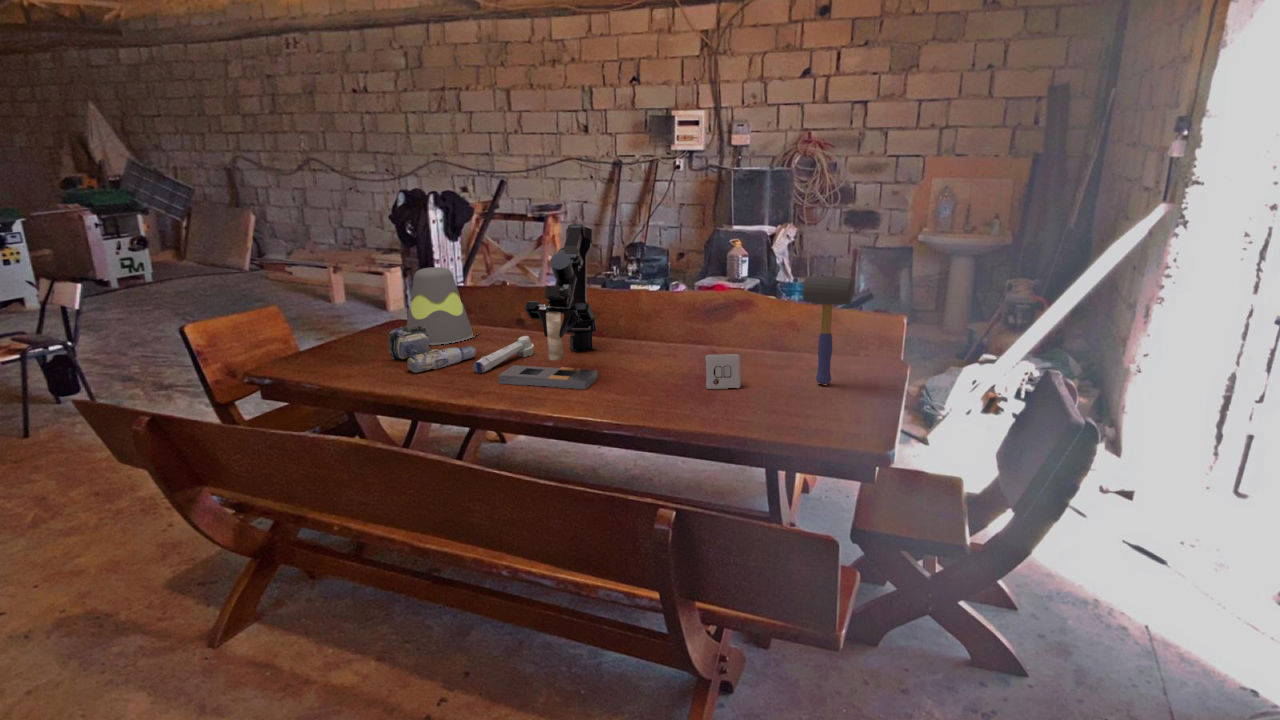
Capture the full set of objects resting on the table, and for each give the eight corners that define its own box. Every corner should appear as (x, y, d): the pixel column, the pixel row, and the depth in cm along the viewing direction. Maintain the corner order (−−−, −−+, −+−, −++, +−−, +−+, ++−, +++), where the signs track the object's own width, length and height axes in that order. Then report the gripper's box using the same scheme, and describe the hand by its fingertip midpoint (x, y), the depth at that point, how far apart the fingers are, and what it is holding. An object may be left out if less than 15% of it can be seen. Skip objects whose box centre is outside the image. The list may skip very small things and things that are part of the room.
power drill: (378, 363, 235) (374, 330, 232) (439, 348, 251) (436, 317, 248) (417, 376, 221) (413, 341, 218) (480, 360, 237) (477, 326, 234)
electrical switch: (706, 390, 203) (706, 356, 201) (704, 385, 208) (704, 352, 206) (740, 389, 203) (741, 355, 201) (738, 385, 208) (738, 352, 206)
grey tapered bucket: (396, 331, 274) (388, 266, 268) (473, 323, 283) (468, 260, 277) (400, 349, 249) (392, 278, 243) (484, 340, 258) (479, 271, 252)
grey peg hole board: (499, 383, 212) (498, 374, 211) (514, 373, 221) (513, 364, 220) (585, 389, 205) (585, 379, 204) (597, 378, 214) (596, 369, 213)
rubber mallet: (848, 383, 205) (855, 275, 197) (844, 391, 199) (851, 279, 190) (803, 378, 210) (807, 272, 202) (797, 386, 204) (802, 277, 195)
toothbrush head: (470, 360, 222) (522, 330, 241) (474, 380, 224) (525, 349, 244) (483, 362, 219) (535, 332, 239) (487, 383, 222) (538, 351, 241)
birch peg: (559, 355, 213) (557, 310, 209) (565, 358, 209) (562, 313, 206) (546, 357, 211) (543, 312, 207) (551, 361, 208) (549, 315, 204)
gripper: (524, 272, 209) (511, 320, 202) (588, 274, 205) (577, 322, 198) (536, 294, 219) (524, 341, 212) (597, 296, 215) (587, 343, 208)
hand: (552, 336), depth 207 cm, fingers closed on birch peg, 4 cm apart
